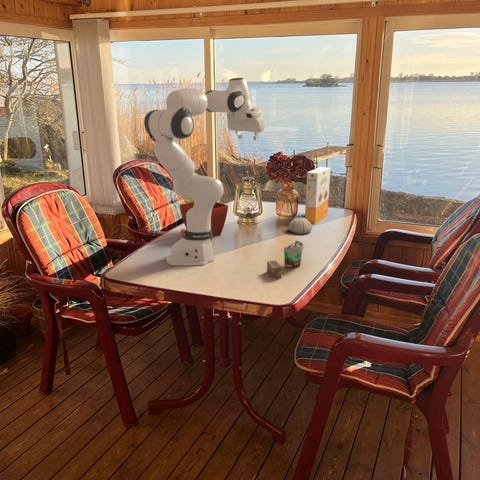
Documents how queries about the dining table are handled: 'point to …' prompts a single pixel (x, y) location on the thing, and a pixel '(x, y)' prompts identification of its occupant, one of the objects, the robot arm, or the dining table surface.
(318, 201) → the cereal box
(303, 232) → the sea urchin shell
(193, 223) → the robot arm
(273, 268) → the walnut block
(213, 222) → the plant pot
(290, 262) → the food container
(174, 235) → the dining table surface
